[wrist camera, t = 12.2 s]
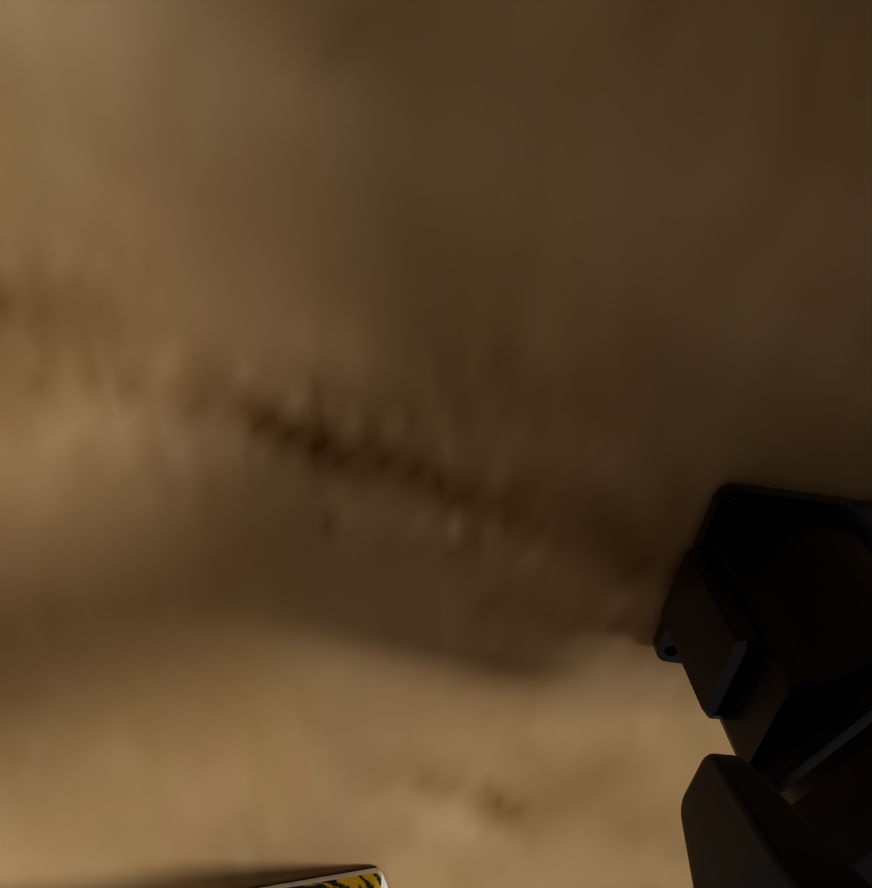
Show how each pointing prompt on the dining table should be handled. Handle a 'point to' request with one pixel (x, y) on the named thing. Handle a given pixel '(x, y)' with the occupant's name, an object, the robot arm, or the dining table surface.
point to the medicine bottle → (341, 881)
